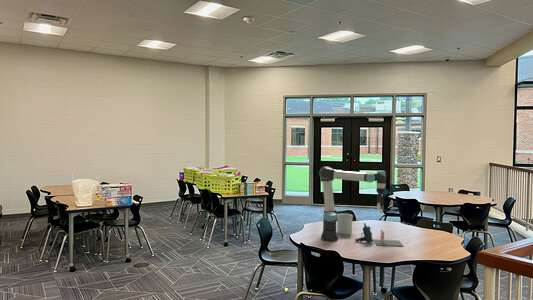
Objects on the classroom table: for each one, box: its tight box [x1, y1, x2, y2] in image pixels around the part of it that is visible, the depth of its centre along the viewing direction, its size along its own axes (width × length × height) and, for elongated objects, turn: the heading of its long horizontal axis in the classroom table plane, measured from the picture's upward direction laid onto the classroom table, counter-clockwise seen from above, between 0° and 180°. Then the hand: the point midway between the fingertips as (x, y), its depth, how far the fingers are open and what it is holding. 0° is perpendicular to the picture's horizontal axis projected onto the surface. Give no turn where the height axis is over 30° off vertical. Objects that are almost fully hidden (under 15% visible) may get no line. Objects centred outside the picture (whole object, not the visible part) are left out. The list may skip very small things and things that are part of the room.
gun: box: [354, 223, 375, 244], centre depth 339 cm, size 3×17×15 cm
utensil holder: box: [336, 213, 354, 235], centre depth 374 cm, size 15×15×18 cm
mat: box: [373, 238, 404, 248], centre depth 336 cm, size 22×18×1 cm
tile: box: [379, 229, 385, 244], centre depth 337 cm, size 2×10×10 cm, turn 172°
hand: (380, 211), depth 351 cm, fingers open, 13 cm apart
